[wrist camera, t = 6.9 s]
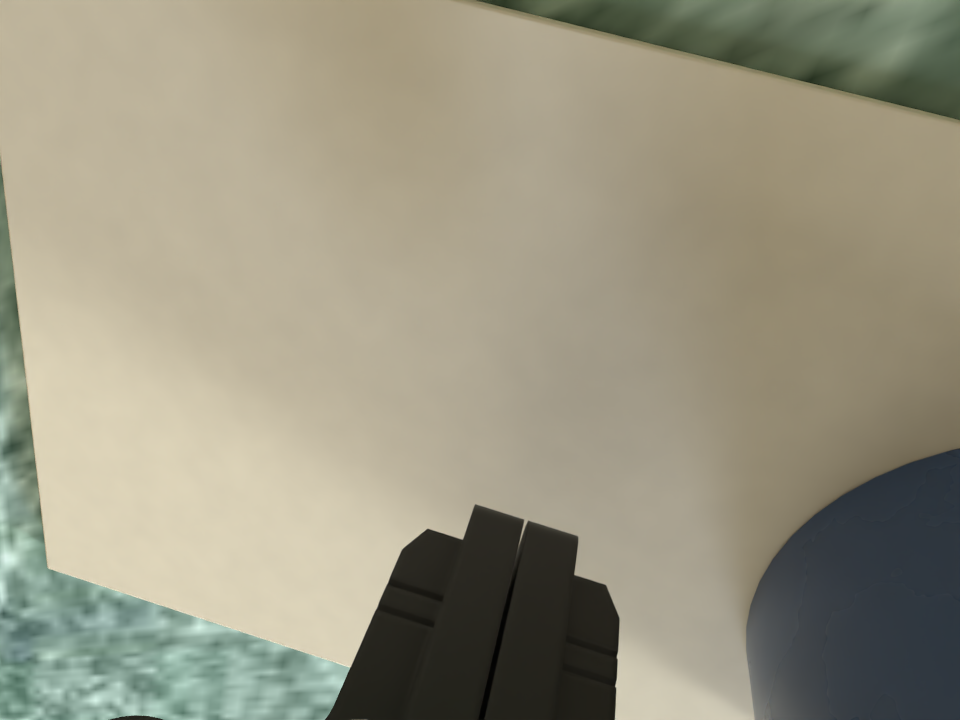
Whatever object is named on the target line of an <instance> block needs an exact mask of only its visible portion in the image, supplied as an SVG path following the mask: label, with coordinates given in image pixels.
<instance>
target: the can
mask: <svg viewBox="0 0 960 720" xmlns="http://www.w3.org/2000/svg"><path fill="white" fill-rule="evenodd" d="M746 653H747V661H748V669H749V677H750V685H751V693H752V701H753V709H754V717H755V720H960V448H959V449H954V450H949V451H946V452H943V453H940V454H936V455H933V456H930V457H926V458H923V459H920V460H917V461H913V462H910V463H908V464H906V465H903V466H901V467H898V468H896V469H894V470H891V471H889V472H886V473H884V474H882V475H879V476H877V477H875V478H873V479H871V480H869V481H867V482H865V483H864V484H862V485H860V486H858V487H856V488H855V489H853V490H851V491H849V492H847V493H845V494H844V495H842V496H841V497H839V498H838V499H836V500H835V501H833V502H832V503H831V504H829V505H828V506H826V507H825V508H824V509H822V510H821V511H819V512H818V513H817V514H815V515H814V516H813V517H812V518H811V519H810V520H809V521H807V522H806V523H805V524H804V525H803V526H802V527H801V528H800V529H799V530H798V531H797V532H795V533H794V534H793V535H792V536H791V537H790V539H789V540H788V541H787V542H786V543H785V545H784V546H783V547H782V548H781V550H780V551H779V552H778V553H777V554H776V556H775V557H774V558H773V560H772V561H771V563H770V565H769V566H768V568H767V570H766V571H765V573H764V575H763V577H762V578H761V580H760V582H759V584H758V587H757V589H756V592H755V595H754V597H753V600H752V602H751V605H750V610H749V615H748V621H747V626H746Z"/></svg>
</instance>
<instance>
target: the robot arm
mask: <svg viewBox="0 0 960 720" xmlns="http://www.w3.org/2000/svg"><path fill="white" fill-rule="evenodd" d="M523 524H524V519H521V518H518V517H515V516H512V515H509V514H505V513H502V512H499V511H496V510H493V509H489V508H486V507H483V506H480V505H477V504H475V505H474V508H473V511H472V514H471V517H470V520H469V523H468V526H467V529H466V532H465V535H464V538H463V540H462V539H459V538H456V537H453V536H449V535H446V534H443V533H440V532H437V531H434V530H431V529H426V530H425V531H424V532H423V533H421V534H420V535H419V536H418V537H416V538H415V539H414V540H413V541H412V542H410V543H409V544H408V545H407V546H405V547H404V548H403V549H402V551H401V553H400V555H399V557H398V560H397V562H396V564H395V567H394V569H393V571H392V574H391V576H390V578H389V581H388V584H387V585H386V587H385V590H384V592H383V594H382V597H381V599H380V601H379V604H378V607H377V609H376V610H375V613H374V615H373V617H372V619H371V622H370V624H369V626H368V629H367V631H366V633H365V636H364V638H363V640H362V642H361V645H360V647H359V649H358V652H357V654H356V656H355V659H354V661H353V663H352V665H351V668H350V670H349V672H348V675H347V677H346V679H345V682H344V684H343V686H342V688H341V691H340V693H339V695H338V698H337V700H336V702H335V704H334V706H333V708H332V710H331V712H330V714H329V715H328V717H327V718H326V719H325V720H615V709H616V687H615V685H616V681H617V667H618V659H617V654H618V646H619V625H620V618H619V615H618V613H617V610H616V608H615V605H614V603H613V601H612V598H611V596H610V593H609V591H608V588H607V586H606V585H605V584H602V583H598V582H595V581H592V580H589V579H586V578H583V577H580V576H576V575H574V573H575V565H576V557H577V550H578V536H576V535H573V534H570V533H567V532H564V531H560V530H557V529H554V528H551V527H548V526H544V525H541V524H538V523H535V522H532V521H529V520H528V522H527V524H526V526H525V529H524V532H523V535H522V538H521V541H520V537H521V533H522V529H523ZM519 542H520V544H519ZM518 546H519V547H518ZM110 720H162V719H159V718H155V717H150V716H125V717H119V718H115V719H110Z"/></svg>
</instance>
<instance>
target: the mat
mask: <svg viewBox="0 0 960 720" xmlns="http://www.w3.org/2000/svg"><path fill="white" fill-rule="evenodd" d="M0 158H1V166H2V175H3V184H4V193H5V201H6V210H7V219H8V227H9V236H10V245H11V254H12V262H13V271H14V280H15V288H16V297H17V306H18V314H19V323H20V332H21V341H22V349H23V358H24V367H25V375H26V384H27V393H28V402H29V410H30V419H31V428H32V436H33V445H34V454H35V462H36V471H37V480H38V489H39V497H40V506H41V515H42V523H43V532H44V541H45V549H46V558H47V567H48V568H49V569H52V570H55V571H58V572H61V573H64V574H67V575H70V576H73V577H76V578H79V579H82V580H85V581H88V582H91V583H94V584H97V585H101V586H104V587H107V588H110V589H113V590H116V591H119V592H122V593H125V594H128V595H131V596H134V597H137V598H140V599H143V600H146V601H149V602H152V603H155V604H158V605H161V606H165V607H168V608H171V609H174V610H177V611H180V612H183V613H186V614H189V615H192V616H195V617H198V618H201V619H204V620H207V621H210V622H213V623H216V624H219V625H222V626H225V627H229V628H232V629H235V630H238V631H241V632H244V633H247V634H250V635H253V636H256V637H259V638H262V639H265V640H268V641H271V642H274V643H277V644H280V645H283V646H286V647H289V648H292V649H296V650H299V651H302V652H305V653H308V654H311V655H314V656H317V657H320V658H323V659H326V660H329V661H332V662H335V663H338V664H341V665H344V666H347V667H350V668H351V665H352V663H353V661H354V659H355V656H356V654H357V652H358V649H359V647H360V645H361V642H362V640H363V638H364V636H365V633H366V631H367V629H368V626H369V624H370V622H371V619H372V617H373V615H374V613H375V610H376V609H377V607H378V604H379V601H380V599H381V597H382V594H383V592H384V590H385V587H386V585H387V584H388V581H389V578H390V576H391V574H392V571H393V569H394V567H395V564H396V562H397V560H398V557H399V555H400V553H401V551H402V549H403V548H404V547H405V546H407V545H408V544H409V543H410V542H412V541H413V540H414V539H415V538H416V537H418V536H419V535H420V534H421V533H423V532H424V531H425V530H426V529H431V530H434V531H437V532H440V533H443V534H446V535H449V536H453V537H456V538H459V539H462V540H463V538H464V535H465V532H466V529H467V526H468V523H469V520H470V517H471V514H472V511H473V508H474V505H475V504H477V505H480V506H483V507H486V508H489V509H493V510H496V511H499V512H502V513H505V514H509V515H512V516H515V517H518V518H521V519H524V524H523V529H522V533H521V537H520V541H521V538H522V535H523V532H524V529H525V526H526V524H527V522H528V520H529V521H532V522H535V523H538V524H541V525H544V526H548V527H551V528H554V529H557V530H560V531H564V532H567V533H570V534H573V535H576V536H578V550H577V557H576V565H575V573H574V575H576V576H580V577H583V578H586V579H589V580H592V581H595V582H598V583H602V584H605V585H606V586H607V588H608V591H609V593H610V596H611V598H612V601H613V603H614V605H615V608H616V610H617V613H618V615H619V618H620V625H619V646H618V654H617V659H618V667H617V681H616V685H615V687H616V709H615V720H755V717H754V709H753V701H752V693H751V685H750V677H749V669H748V661H747V653H746V626H747V621H748V615H749V610H750V605H751V602H752V600H753V597H754V595H755V592H756V589H757V587H758V584H759V582H760V580H761V578H762V577H763V575H764V573H765V571H766V570H767V568H768V566H769V565H770V563H771V561H772V560H773V558H774V557H775V556H776V554H777V553H778V552H779V551H780V550H781V548H782V547H783V546H784V545H785V543H786V542H787V541H788V540H789V539H790V537H791V536H792V535H793V534H794V533H795V532H797V531H798V530H799V529H800V528H801V527H802V526H803V525H804V524H805V523H806V522H807V521H809V520H810V519H811V518H812V517H813V516H814V515H815V514H817V513H818V512H819V511H821V510H822V509H824V508H825V507H826V506H828V505H829V504H831V503H832V502H833V501H835V500H836V499H838V498H839V497H841V496H842V495H844V494H845V493H847V492H849V491H851V490H853V489H855V488H856V487H858V486H860V485H862V484H864V483H865V482H867V481H869V480H871V479H873V478H875V477H877V476H879V475H882V474H884V473H886V472H889V471H891V470H894V469H896V468H898V467H901V466H903V465H906V464H908V463H910V462H913V461H917V460H920V459H923V458H926V457H930V456H933V455H936V454H940V453H943V452H946V451H949V450H954V449H959V448H960V120H958V119H953V118H949V117H945V116H941V115H937V114H933V113H929V112H925V111H921V110H917V109H913V108H909V107H905V106H901V105H897V104H893V103H889V102H885V101H881V100H877V99H873V98H869V97H864V96H860V95H856V94H852V93H848V92H844V91H840V90H836V89H832V88H828V87H824V86H820V85H816V84H812V83H808V82H804V81H800V80H796V79H792V78H788V77H784V76H780V75H775V74H771V73H767V72H763V71H759V70H755V69H751V68H747V67H743V66H739V65H735V64H731V63H727V62H723V61H719V60H715V59H711V58H707V57H703V56H699V55H695V54H691V53H687V52H682V51H678V50H674V49H670V48H666V47H662V46H658V45H654V44H650V43H646V42H642V41H638V40H634V39H630V38H626V37H622V36H618V35H614V34H610V33H606V32H602V31H598V30H593V29H589V28H585V27H581V26H577V25H573V24H569V23H565V22H561V21H557V20H553V19H549V18H545V17H541V16H537V15H533V14H529V13H525V12H521V11H517V10H513V9H509V8H504V7H500V6H496V5H492V4H488V3H484V2H480V1H476V0H0ZM519 544H520V542H519ZM518 547H519V546H518Z"/></svg>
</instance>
